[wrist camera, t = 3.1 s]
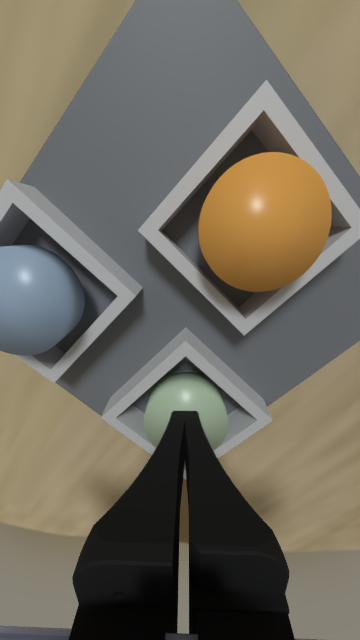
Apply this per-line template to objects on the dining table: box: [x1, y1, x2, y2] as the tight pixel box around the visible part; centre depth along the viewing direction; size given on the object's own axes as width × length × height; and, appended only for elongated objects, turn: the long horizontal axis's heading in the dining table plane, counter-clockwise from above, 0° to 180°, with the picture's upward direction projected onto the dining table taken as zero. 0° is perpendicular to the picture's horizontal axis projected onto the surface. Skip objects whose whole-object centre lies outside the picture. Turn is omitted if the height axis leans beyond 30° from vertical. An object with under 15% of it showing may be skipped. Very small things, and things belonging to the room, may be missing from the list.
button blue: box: [0, 245, 85, 356], centre depth 11 cm, size 5×5×2 cm
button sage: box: [143, 372, 229, 450], centre depth 14 cm, size 5×5×2 cm
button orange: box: [197, 152, 332, 292], centre depth 9 cm, size 5×5×2 cm
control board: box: [0, 0, 360, 480], centre depth 13 cm, size 18×19×3 cm
